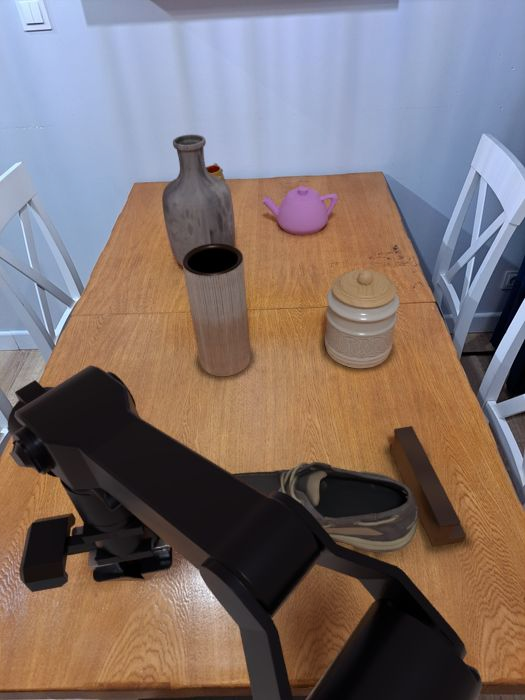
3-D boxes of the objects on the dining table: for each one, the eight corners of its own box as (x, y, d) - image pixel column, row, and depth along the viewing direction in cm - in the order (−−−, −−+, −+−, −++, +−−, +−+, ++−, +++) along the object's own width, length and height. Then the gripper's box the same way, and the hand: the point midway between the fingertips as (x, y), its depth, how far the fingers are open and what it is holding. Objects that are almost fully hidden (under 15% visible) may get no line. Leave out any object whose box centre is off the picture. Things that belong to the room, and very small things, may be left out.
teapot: (264, 214, 141) (263, 177, 134) (334, 213, 139) (336, 176, 132) (261, 237, 130) (259, 200, 123) (337, 237, 129) (339, 198, 122)
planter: (192, 353, 97) (173, 252, 82) (237, 336, 100) (227, 237, 85) (212, 384, 90) (195, 281, 75) (259, 365, 94) (253, 263, 78)
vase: (247, 272, 118) (237, 145, 98) (182, 288, 114) (159, 159, 94) (226, 242, 130) (214, 122, 109) (167, 255, 126) (143, 134, 106)
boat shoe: (213, 477, 75) (204, 433, 68) (406, 485, 73) (419, 441, 66) (201, 545, 67) (190, 504, 60) (418, 557, 65) (434, 515, 58)
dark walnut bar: (463, 541, 66) (474, 519, 62) (431, 547, 66) (440, 526, 62) (416, 447, 78) (423, 423, 74) (389, 451, 78) (394, 428, 74)
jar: (333, 321, 103) (338, 247, 91) (395, 333, 99) (409, 257, 87) (316, 362, 94) (319, 285, 82) (385, 376, 90) (398, 298, 78)
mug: (223, 194, 152) (221, 173, 147) (202, 194, 153) (199, 173, 148) (230, 178, 161) (228, 158, 156) (209, 178, 161) (207, 158, 157)
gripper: (212, 407, 48) (227, 494, 58) (16, 437, 46) (67, 521, 57) (224, 508, 40) (239, 588, 50) (-13, 549, 38) (52, 624, 48)
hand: (147, 575), depth 52 cm, fingers closed
